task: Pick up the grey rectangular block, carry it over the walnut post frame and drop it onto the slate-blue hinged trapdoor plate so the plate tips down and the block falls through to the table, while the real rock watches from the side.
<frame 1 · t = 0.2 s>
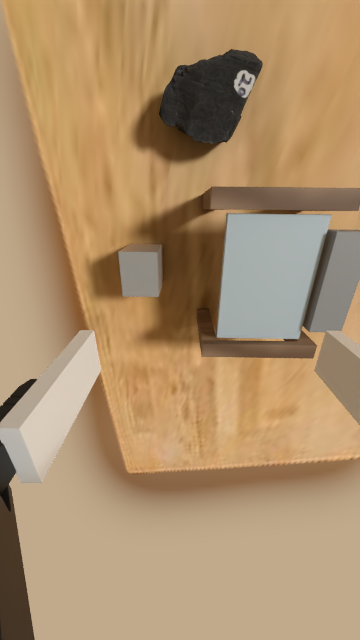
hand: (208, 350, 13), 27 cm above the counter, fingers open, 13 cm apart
rock: (210, 114, 30), on the counter
trapdoor: (284, 282, 28), point 10 cm above the counter, hinge at 0.0°
grey rectangular block: (147, 262, 38), on the counter
trapdoor frame: (245, 264, 38), on the counter
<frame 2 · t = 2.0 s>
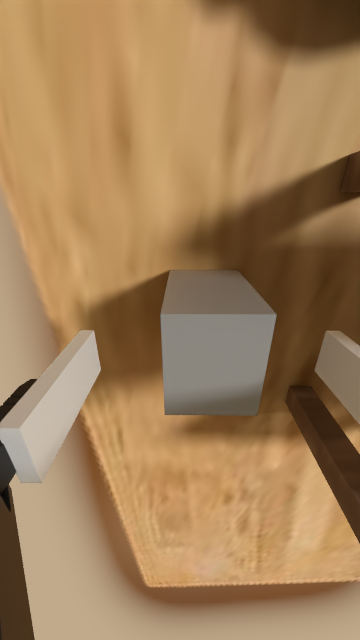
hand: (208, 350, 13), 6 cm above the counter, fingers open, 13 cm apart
grey rectangular block: (202, 307, 19), on the counter
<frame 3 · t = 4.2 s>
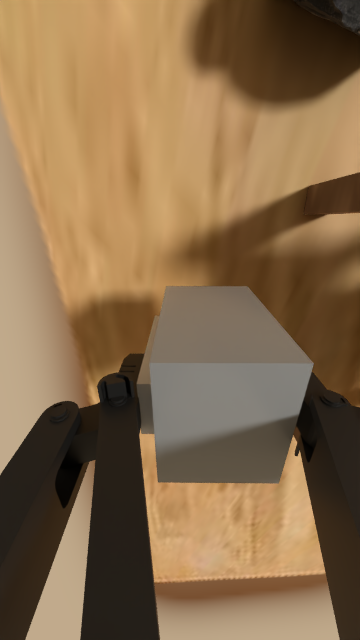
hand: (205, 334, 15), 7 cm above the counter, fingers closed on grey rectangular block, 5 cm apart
rock: (352, 0, 14), on the counter
grey rectangular block: (204, 329, 16), point 7 cm above the counter, touching gripper
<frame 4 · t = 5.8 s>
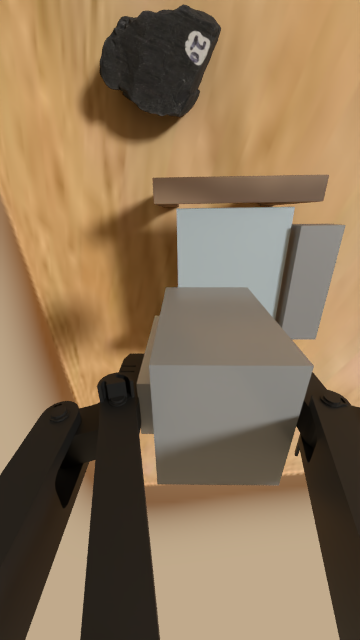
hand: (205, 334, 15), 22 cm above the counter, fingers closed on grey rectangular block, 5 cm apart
rock: (166, 86, 27), on the counter
trapdoor: (249, 284, 25), point 11 cm above the counter, hinge at 0.0°
grey rectangular block: (204, 330, 16), point 21 cm above the counter, touching gripper
trapdoor frame: (216, 265, 35), on the counter
when the fingers open (13 cm above the counter, at t = 7.4 s): grey rectangular block drops 10 cm and tips over, point 2 cm above the counter.
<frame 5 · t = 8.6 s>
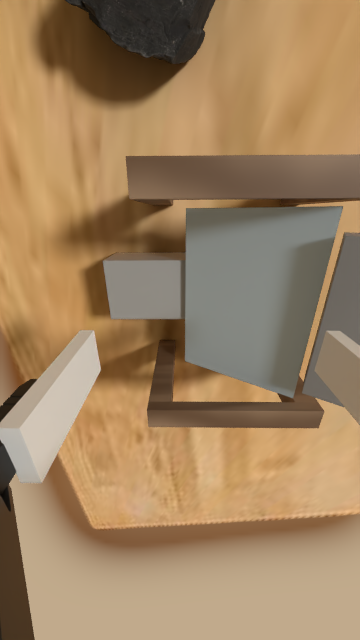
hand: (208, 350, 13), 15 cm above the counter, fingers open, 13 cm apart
rock: (158, 22, 19), on the counter
trapdoor: (269, 309, 19), point 9 cm above the counter, hinge at -30.6°
grey rectangular block: (187, 284, 25), point 2 cm above the counter, tilted 90°
trapdoor frame: (220, 280, 27), on the counter
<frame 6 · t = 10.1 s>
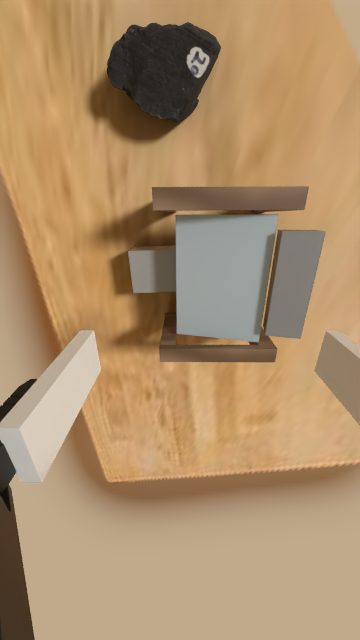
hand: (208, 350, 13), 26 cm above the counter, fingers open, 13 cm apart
rock: (168, 91, 29), on the counter
trapdoor: (238, 282, 28), point 10 cm above the counter, hinge at -12.4°
grey rectangular block: (186, 267, 35), point 2 cm above the counter, tilted 90°
trapdoor frame: (211, 266, 37), on the counter
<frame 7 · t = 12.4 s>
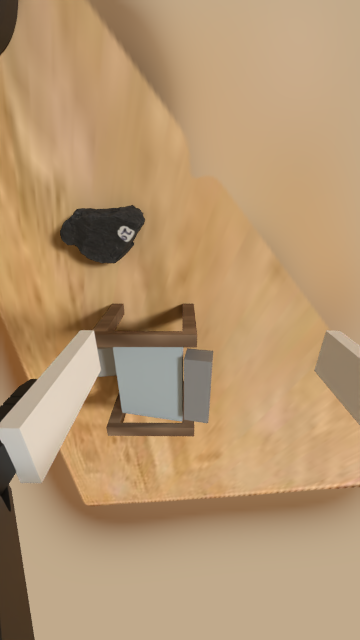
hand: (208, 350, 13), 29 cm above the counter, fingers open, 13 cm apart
rock: (112, 234, 38), on the counter
trapdoor: (163, 382, 38), point 10 cm above the counter, hinge at -9.8°
grey rectangular block: (133, 353, 45), point 2 cm above the counter, tilted 90°
trapdoor frame: (155, 349, 47), on the counter
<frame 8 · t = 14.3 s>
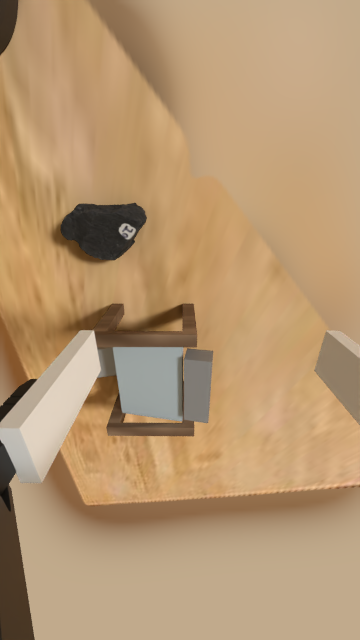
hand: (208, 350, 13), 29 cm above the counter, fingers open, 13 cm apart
rock: (113, 230, 38), on the counter
trapdoor: (162, 382, 38), point 10 cm above the counter, hinge at -9.7°
grey rectangular block: (133, 352, 45), point 2 cm above the counter, tilted 90°
trapdoor frame: (155, 349, 47), on the counter
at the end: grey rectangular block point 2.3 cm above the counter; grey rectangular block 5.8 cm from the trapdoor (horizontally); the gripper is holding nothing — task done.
